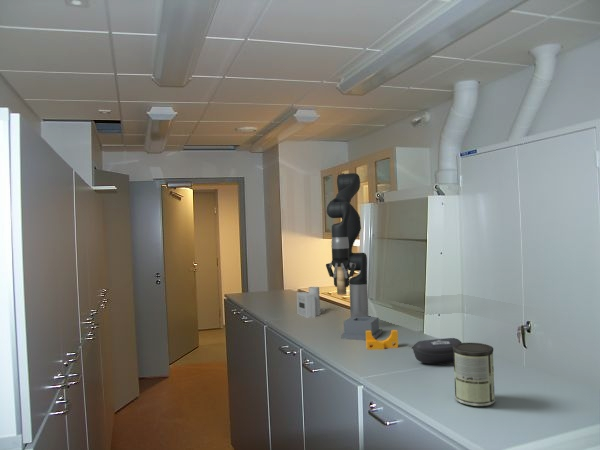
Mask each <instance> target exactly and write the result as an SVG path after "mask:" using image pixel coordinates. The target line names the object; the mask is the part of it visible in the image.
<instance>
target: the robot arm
mask: <svg viewBox="0 0 600 450" xmlns="http://www.w3.org/2000/svg"><path fill="white" fill-rule="evenodd" d="M336 178H337V179H336V186H337V187H336V188H337V194H336V196H335V197H334V198H333V199H332V200H331V201H330V202H329V203H328V204H327V206H326V214H327V216H328V217H329V218H331V219H341V221H340V222H337V223H333V224H332V225H331V262H329V263H326V264H325V268H326V271H327V273H328V275H329V277H330V278H333V285H334V287H336V288H337V267H342V270H343V273H344V275H345V287H346V288H348V287H349V307H350V308H349V309H350V313H349V314H350V315H349V316H350V317H352V316H359V317H369V295H368V292H369V291H368V290H369V289H368V256H367V254H366V253H365V252H353V246H354V244H355V241H356V240H357V238H358V236H359V235H360V232H361V229H362V226H361V225H362V223H361V217H360V214H359V212H358V211H357V210H356V208H355V207H354V206H353V205H352V204H351V201H352V199H353V198H354V196H355V195H356V194H357V193H358V192H359V190H360V188H361V178H360V175H359V174H358V173H354V172H351V173H340V174H338V175H337V177H336ZM332 267H333V268H334V270H333V268H332ZM356 271H358V272H359V271H360V272H359V273H358V274H357V275H355V276H354V274H355V272H356Z"/></svg>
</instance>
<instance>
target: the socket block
mask: <svg viewBox="0 0 600 450" xmlns="http://www.w3.org/2000/svg"><path fill="white" fill-rule="evenodd" d="M379 320H380V318H379V317H378V316H368V317H359V316H352V317H351V316H349V318H347V319H345V320H344V321H343V333H342V334H340V339H345V340H360V341H366V331H371V333H372V336H373V337H374V338H375V339H376V340H377V338H379V336H380V335H381V334H382V333H383V329H382V328H380V326H379V325H380V322H379Z"/></svg>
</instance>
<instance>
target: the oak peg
mask: <svg viewBox="0 0 600 450" xmlns="http://www.w3.org/2000/svg"><path fill="white" fill-rule="evenodd" d="M336 290H337V291H336V294H337V295H338V296H339V295H340V296H343V295H347V287H345V275H344V273H343V270H342V267H337V287H336Z"/></svg>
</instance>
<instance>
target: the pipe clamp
mask: <svg viewBox="0 0 600 450" xmlns="http://www.w3.org/2000/svg"><path fill="white" fill-rule="evenodd" d="M390 331H391V332H390V335H389V336H388V337H387V338H386V339H384V340H379V339H377V338H376V339H375V338H374V337H373V336H372V333H371V331H366V340H365V347H366V350H369V351H370V350H385V349H392V348H394V349H395V348H399V341H398V340H399V337H398V336H399V333H398V332H399V331H398V330H397V329H392V330H390ZM393 343H394V344H393Z"/></svg>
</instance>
